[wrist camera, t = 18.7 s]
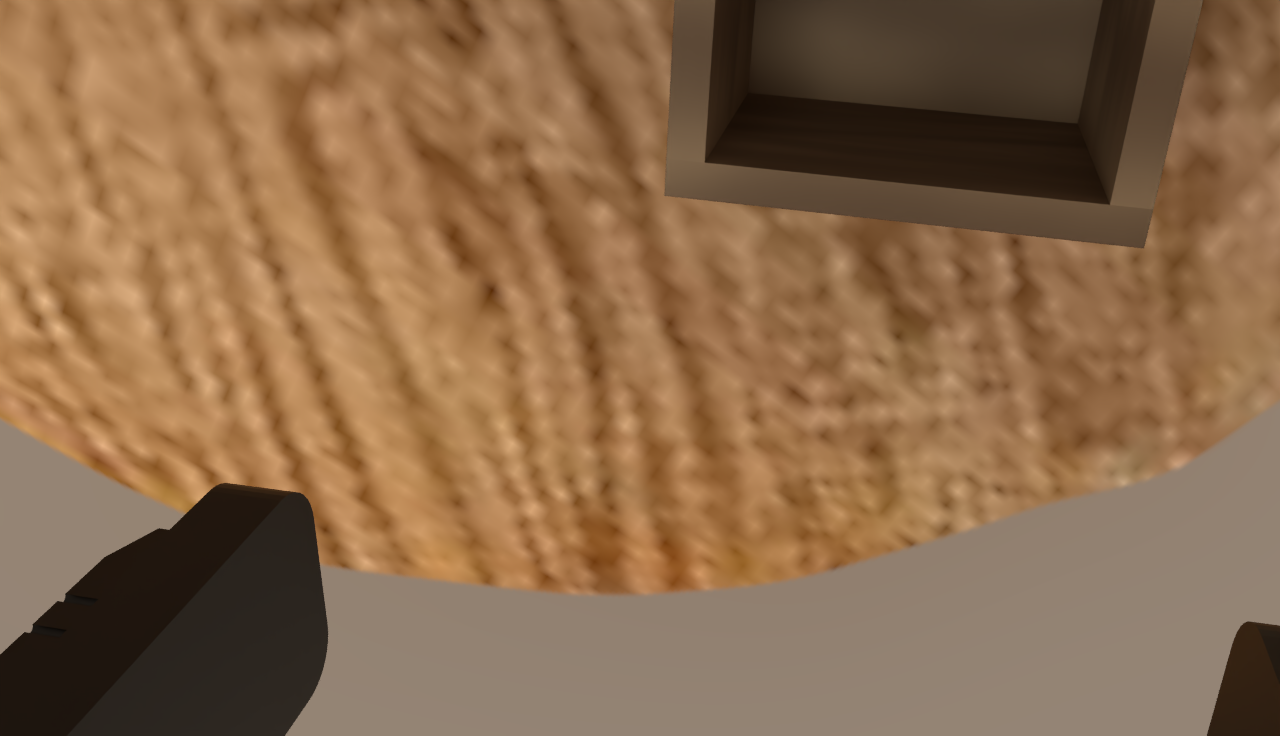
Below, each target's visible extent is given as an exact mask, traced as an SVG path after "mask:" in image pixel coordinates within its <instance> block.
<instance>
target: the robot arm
mask: <svg viewBox="0 0 1280 736" xmlns="http://www.w3.org/2000/svg"><path fill="white" fill-rule="evenodd" d="M65 595H66V597H65V600H64V602H59V601H57V602H56V603H55V604H54V605H53V606H52V607H51V608H50V609H49V610H48V611H47V612H45V613H44V614H43V615H42V616H41V617H40V618H39V619H38V620H37V621H36V622H35V623H34V624H33V629H32V631H31V633H26V632H24V633H23V634H22V635H21V636H20V637H19V638H18V639H17V640H15V641H14V642H13V643H12V644H11V645H10V646H9V647H8V648H7V649H6V650H5V651H4V652H3V653H2V654H0V736H285V734H286V733H287V732H288V730H289V729H290V727H291V726H292V724H293V723H294V722H295V720H296V719H297V717H298V716H299V714H300V713H301V711H302V710H303V708H304V707H305V705H306V704H307V703H308V701H309V700H310V698H311V696H312V695H313V693H314V691H315V689H316V686H317V685H318V682H319V680H320V677H321V674H322V671H323V667H324V663H325V658H326V652H327V644H328V626H327V617H326V609H325V602H324V595H323V586H322V578H321V571H320V563H319V555H318V547H317V539H316V531H315V524H314V517H313V511H312V508H311V505H310V503H309V501H308V499H307V498H306V497H305V496H304V495H303V494H301V493H297V492H290V491H282V490H275V489H267V488H260V487H252V486H245V485H237V484H230V483H222V484H219V485H217V486H215V487H214V488H213V489H211V490H210V491H209V492H208V493H207V494H206V495H205V496H204V497H203V498H202V499H201V500H200V501H199V502H198V503H197V504H196V505H195V506H194V507H193V508H192V509H191V510H189V511H188V512H187V513H186V514H185V515H184V516H183V517H182V518H181V519H180V520H179V521H178V522H177V523H176V524H175V525H174V526H173V527H172V528H171V529H170V530H166V529H157V530H155V531H153V532H151V533H149V534H147V535H146V536H144V537H142V538H140V539H138V540H136V541H135V542H132V543H131V544H129V545H127V546H125V547H123V548H121V549H119V550H117V551H116V552H114V553H112V554H110V555H108V556H106V557H104V558H103V559H102V560H101V561H100V562H99V563H98V564H97V565H96V566H95V567H94V568H93V569H92V570H90V571H89V572H88V573H87V574H86V575H85V576H84V577H83V578H82V579H81V580H80V581H79V582H78V583H77V584H75V585H74V586H73V587H72V588H71V589H70V590H69V591H68V592H67V593H66V594H65ZM1207 736H1280V626H1278V625H1270V624H1263V623H1256V622H1246V623H1244V624H1243V625H1242V626H1241V627H1240V629H1239V630H1238V632H1237V634H1236V637H1235V638H1234V641H1233V644H1232V648H1231V651H1230V655H1229V658H1228V662H1227V665H1226V669H1225V673H1224V676H1223V680H1222V683H1221V687H1220V690H1219V694H1218V698H1217V701H1216V705H1215V709H1214V712H1213V716H1212V719H1211V723H1210V726H1209V730H1208V734H1207Z"/></svg>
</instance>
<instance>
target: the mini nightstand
mask: <svg viewBox="0 0 1280 736" xmlns="http://www.w3.org/2000/svg"><path fill="white" fill-rule="evenodd" d="M1202 3H1203V0H675V4H674V24H673V43H672V62H671V81H670V100H669V119H668V138H667V158H666V177H665V196H672V197H681V198H690V199H699V200H708V201H717V202H726V203H735V204H744V205H754V206H763V207H772V208H781V209H790V210H799V211H808V212H817V213H826V214H835V215H845V216H854V217H863V218H872V219H881V220H890V221H899V222H908V223H917V224H927V225H936V226H945V227H954V228H963V229H972V230H981V231H990V232H999V233H1008V234H1018V235H1027V236H1036V237H1045V238H1054V239H1063V240H1072V241H1081V242H1090V243H1100V244H1109V245H1118V246H1127V247H1136V248H1144V246H1145V242H1146V238H1147V233H1148V229H1149V225H1150V221H1151V217H1152V212H1153V208H1154V204H1155V200H1156V196H1157V192H1158V187H1159V183H1160V179H1161V175H1162V171H1163V166H1164V162H1165V158H1166V154H1167V150H1168V145H1169V141H1170V137H1171V133H1172V129H1173V125H1174V120H1175V116H1176V112H1177V108H1178V104H1179V99H1180V95H1181V91H1182V87H1183V83H1184V78H1185V74H1186V70H1187V66H1188V62H1189V58H1190V53H1191V49H1192V45H1193V41H1194V37H1195V32H1196V28H1197V24H1198V20H1199V16H1200V11H1201V7H1202Z"/></svg>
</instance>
